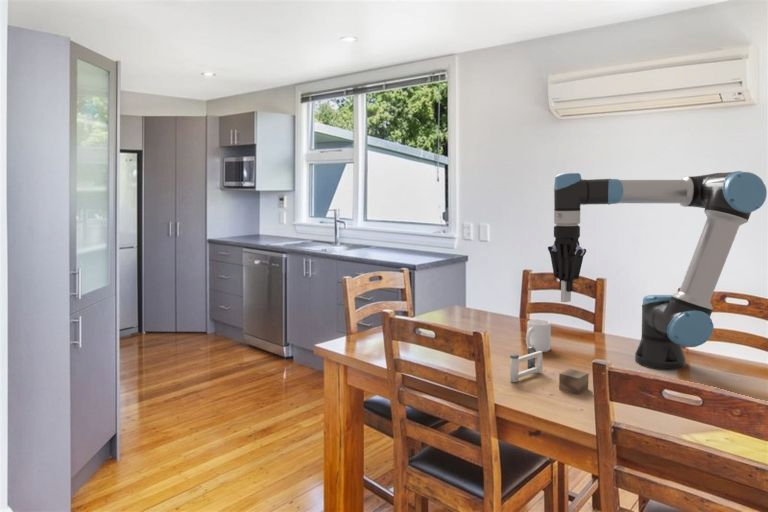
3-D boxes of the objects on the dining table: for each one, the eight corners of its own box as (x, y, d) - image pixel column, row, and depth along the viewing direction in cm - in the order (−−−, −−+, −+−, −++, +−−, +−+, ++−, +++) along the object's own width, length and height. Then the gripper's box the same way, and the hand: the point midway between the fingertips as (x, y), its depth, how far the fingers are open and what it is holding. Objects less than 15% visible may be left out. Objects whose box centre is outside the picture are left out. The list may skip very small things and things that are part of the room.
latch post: (537, 369, 179) (537, 346, 178) (533, 371, 177) (533, 348, 176) (529, 367, 181) (529, 345, 180) (525, 369, 179) (525, 347, 178)
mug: (536, 356, 192) (536, 327, 191) (516, 351, 199) (516, 323, 198) (554, 349, 200) (555, 321, 199) (535, 344, 206) (535, 318, 205)
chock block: (588, 389, 160) (588, 373, 160) (578, 395, 156) (578, 378, 155) (569, 384, 164) (569, 368, 164) (559, 389, 160) (559, 373, 160)
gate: (515, 382, 166) (515, 357, 165) (508, 380, 168) (508, 355, 167) (543, 372, 174) (544, 348, 173) (537, 370, 176) (537, 346, 175)
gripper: (541, 224, 168) (541, 299, 171) (575, 226, 157) (574, 306, 159) (558, 223, 172) (557, 296, 174) (593, 225, 160) (591, 303, 163)
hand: (565, 301), depth 167 cm, fingers closed
